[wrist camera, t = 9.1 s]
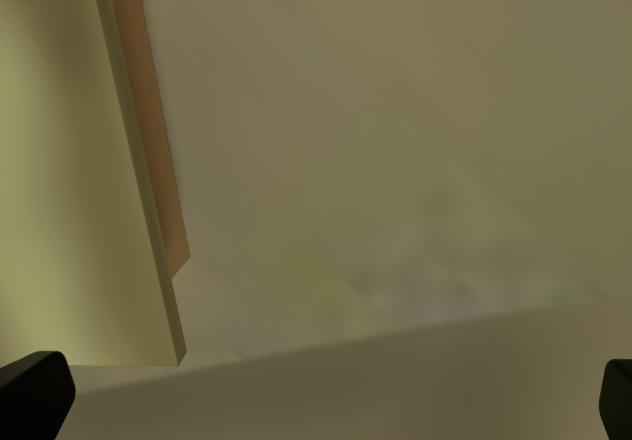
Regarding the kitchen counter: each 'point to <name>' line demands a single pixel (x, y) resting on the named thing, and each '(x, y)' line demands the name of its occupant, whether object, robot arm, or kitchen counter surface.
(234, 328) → the kitchen counter surface
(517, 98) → the kitchen counter surface
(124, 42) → the open wooden box
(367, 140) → the kitchen counter surface
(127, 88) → the lid
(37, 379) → the robot arm
